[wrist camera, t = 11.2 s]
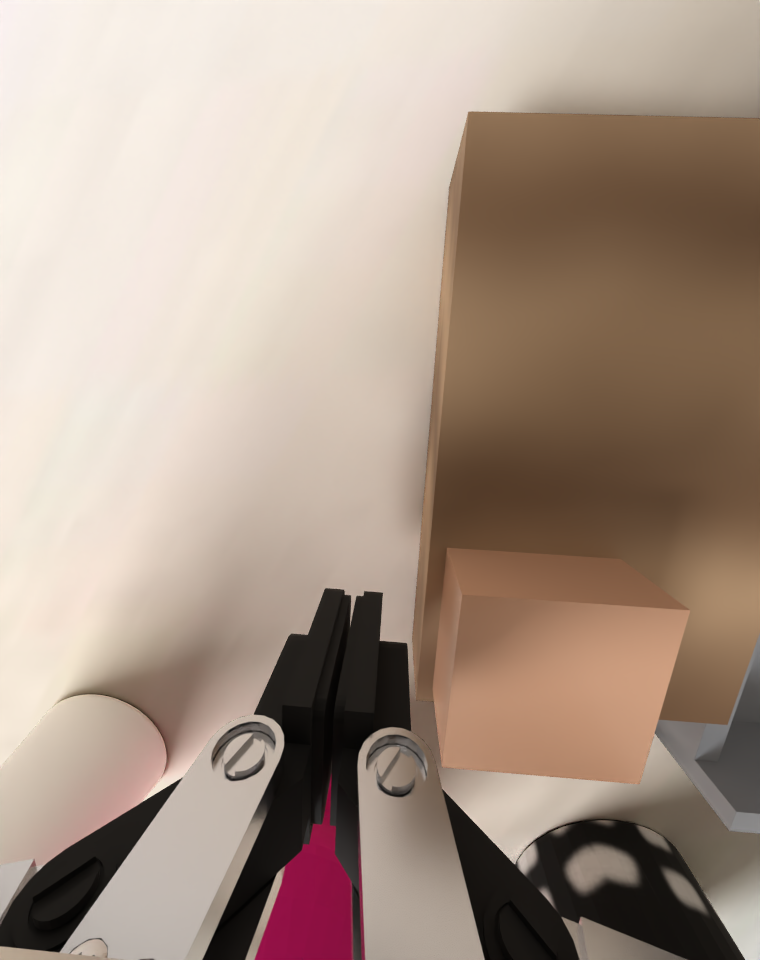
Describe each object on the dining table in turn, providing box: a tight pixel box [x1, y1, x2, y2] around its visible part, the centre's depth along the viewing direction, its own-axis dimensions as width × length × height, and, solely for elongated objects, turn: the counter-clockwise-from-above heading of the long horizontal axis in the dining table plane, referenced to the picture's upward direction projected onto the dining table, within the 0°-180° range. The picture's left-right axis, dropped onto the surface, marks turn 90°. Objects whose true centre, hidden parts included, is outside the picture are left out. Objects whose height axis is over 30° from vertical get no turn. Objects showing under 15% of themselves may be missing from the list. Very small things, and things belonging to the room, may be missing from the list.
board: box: [412, 112, 760, 725], centre depth 11 cm, size 16×10×3 cm, turn 177°
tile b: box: [432, 548, 690, 784], centre depth 10 cm, size 5×5×2 cm
